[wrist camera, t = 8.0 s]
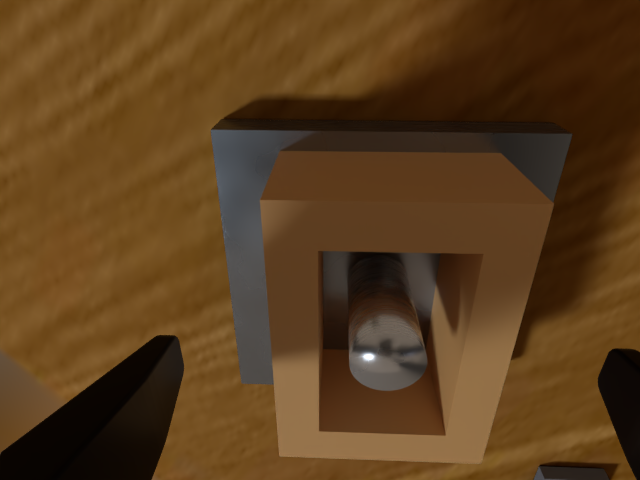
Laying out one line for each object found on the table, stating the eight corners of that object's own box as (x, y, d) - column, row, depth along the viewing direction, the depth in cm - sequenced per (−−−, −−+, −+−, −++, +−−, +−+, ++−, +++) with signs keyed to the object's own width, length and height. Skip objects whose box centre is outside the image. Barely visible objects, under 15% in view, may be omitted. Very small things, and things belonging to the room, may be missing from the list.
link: (454, 377, 13) (480, 463, 11) (290, 372, 13) (279, 456, 11) (501, 152, 10) (554, 203, 7) (279, 151, 10) (259, 200, 8)
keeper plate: (489, 367, 14) (538, 487, 11) (247, 360, 15) (217, 474, 11) (553, 122, 10) (660, 185, 7) (221, 119, 11) (163, 177, 7)
